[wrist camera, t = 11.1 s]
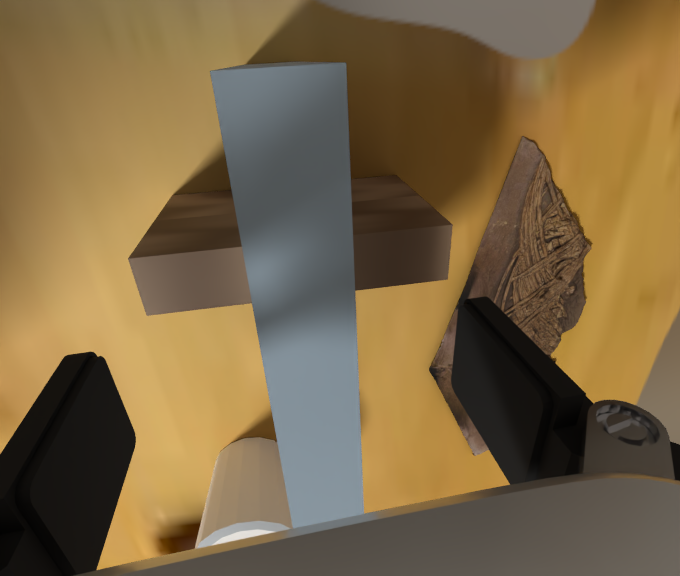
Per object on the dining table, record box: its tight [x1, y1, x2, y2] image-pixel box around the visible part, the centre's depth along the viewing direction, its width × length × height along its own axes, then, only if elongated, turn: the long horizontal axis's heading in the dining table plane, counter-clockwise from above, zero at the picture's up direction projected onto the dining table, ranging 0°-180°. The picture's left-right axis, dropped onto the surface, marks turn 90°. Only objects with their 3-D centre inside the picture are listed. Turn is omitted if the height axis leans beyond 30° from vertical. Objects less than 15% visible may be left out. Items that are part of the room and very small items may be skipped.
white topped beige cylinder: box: [195, 437, 293, 549], centre depth 29 cm, size 7×7×7 cm
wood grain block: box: [128, 175, 452, 316], centre depth 19 cm, size 12×2×8 cm, turn 93°
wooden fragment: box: [429, 136, 591, 456], centre depth 29 cm, size 26×11×1 cm, turn 1°
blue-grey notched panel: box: [210, 62, 364, 528], centre depth 17 cm, size 14×2×14 cm, turn 3°
